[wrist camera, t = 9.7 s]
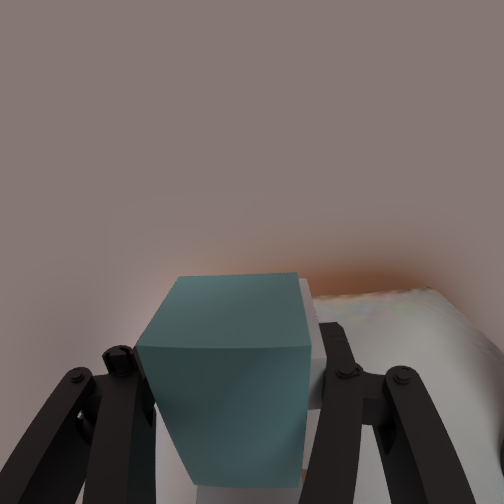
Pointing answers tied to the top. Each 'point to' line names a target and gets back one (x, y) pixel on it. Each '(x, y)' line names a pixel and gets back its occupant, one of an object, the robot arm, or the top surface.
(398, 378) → the robot arm
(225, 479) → the column block
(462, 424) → the top surface
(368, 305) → the top surface
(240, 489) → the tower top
